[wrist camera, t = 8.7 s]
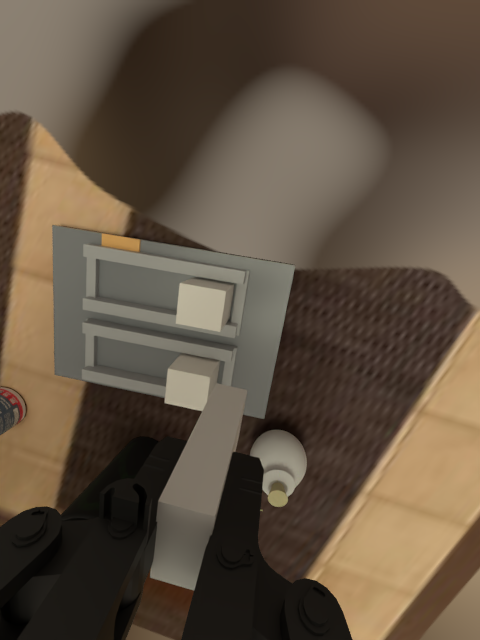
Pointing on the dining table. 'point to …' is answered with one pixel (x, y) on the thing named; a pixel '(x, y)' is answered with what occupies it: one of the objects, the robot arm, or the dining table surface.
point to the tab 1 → (204, 303)
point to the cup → (110, 478)
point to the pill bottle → (10, 409)
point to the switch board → (161, 313)
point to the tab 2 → (191, 381)
